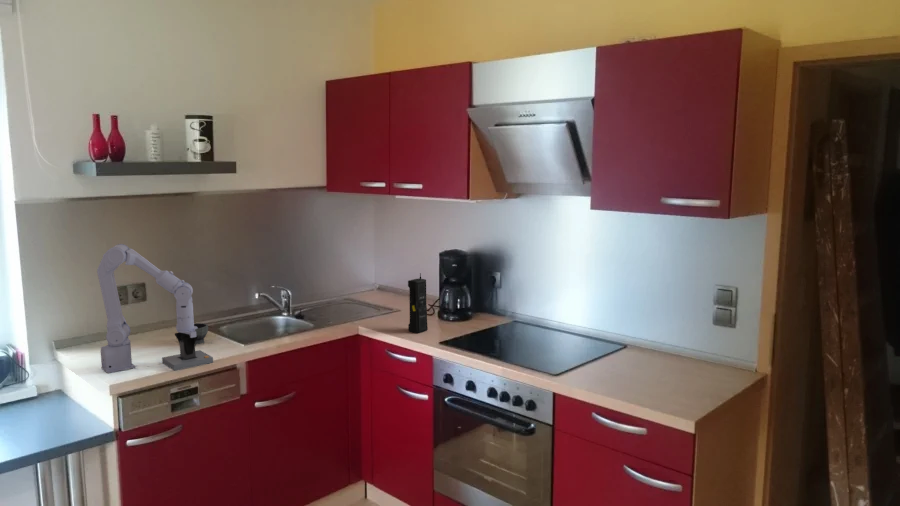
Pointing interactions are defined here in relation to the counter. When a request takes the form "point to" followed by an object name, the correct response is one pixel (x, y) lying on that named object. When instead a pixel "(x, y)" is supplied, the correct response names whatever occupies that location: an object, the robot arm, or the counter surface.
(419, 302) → the portable radio
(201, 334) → the mortar and pestle
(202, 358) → the plate
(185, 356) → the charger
